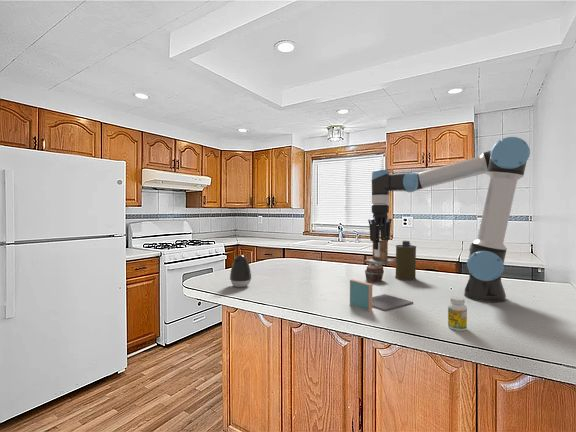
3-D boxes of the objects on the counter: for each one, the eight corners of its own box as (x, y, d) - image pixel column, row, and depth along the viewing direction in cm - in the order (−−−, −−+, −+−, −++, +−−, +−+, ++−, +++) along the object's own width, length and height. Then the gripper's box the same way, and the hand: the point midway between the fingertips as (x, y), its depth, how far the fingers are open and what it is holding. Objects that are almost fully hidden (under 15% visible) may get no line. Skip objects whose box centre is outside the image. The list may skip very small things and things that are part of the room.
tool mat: (413, 303, 132) (413, 301, 132) (385, 311, 123) (385, 309, 123) (384, 295, 144) (384, 294, 144) (357, 301, 134) (357, 300, 134)
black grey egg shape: (225, 287, 157) (225, 255, 156) (237, 282, 166) (236, 252, 166) (244, 289, 153) (244, 257, 152) (255, 284, 163) (254, 254, 162)
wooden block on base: (381, 259, 157) (381, 238, 156) (395, 261, 150) (395, 240, 150) (364, 262, 150) (364, 240, 150) (378, 264, 143) (378, 241, 143)
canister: (413, 281, 170) (414, 242, 169) (393, 278, 176) (393, 241, 175) (417, 277, 179) (418, 240, 179) (398, 275, 185) (398, 239, 184)
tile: (372, 310, 123) (372, 284, 123) (369, 311, 122) (369, 284, 122) (352, 304, 131) (352, 279, 131) (349, 305, 130) (349, 279, 130)
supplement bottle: (470, 329, 105) (471, 299, 104) (458, 332, 102) (459, 301, 102) (455, 324, 109) (456, 295, 109) (444, 326, 107) (444, 297, 107)
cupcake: (368, 277, 179) (369, 259, 179) (386, 280, 173) (386, 261, 173) (361, 280, 171) (361, 261, 171) (379, 283, 166) (380, 263, 165)
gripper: (385, 204, 157) (385, 253, 158) (361, 204, 148) (361, 256, 149) (398, 204, 151) (398, 255, 151) (374, 204, 142) (374, 259, 142)
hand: (380, 256), depth 150 cm, fingers closed on wooden block on base, 3 cm apart
